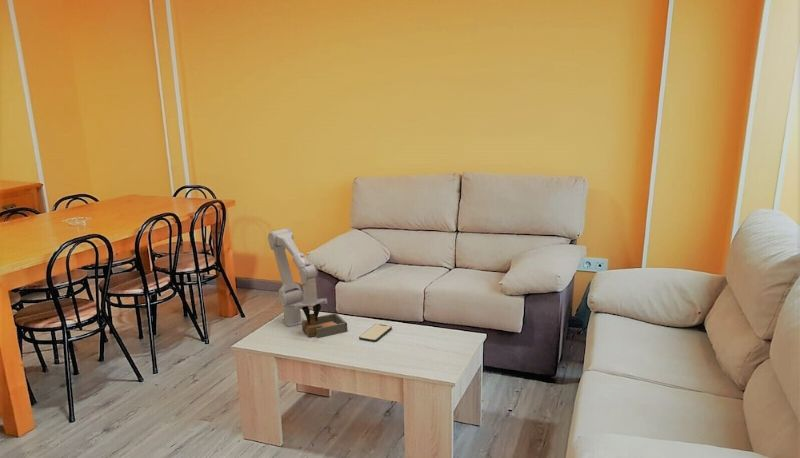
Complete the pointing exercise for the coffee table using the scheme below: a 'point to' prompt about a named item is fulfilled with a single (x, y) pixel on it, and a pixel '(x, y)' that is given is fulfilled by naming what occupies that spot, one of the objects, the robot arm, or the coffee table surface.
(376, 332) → the phone case
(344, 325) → the frame
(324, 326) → the tile
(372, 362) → the coffee table surface
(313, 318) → the pusher
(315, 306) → the robot arm
